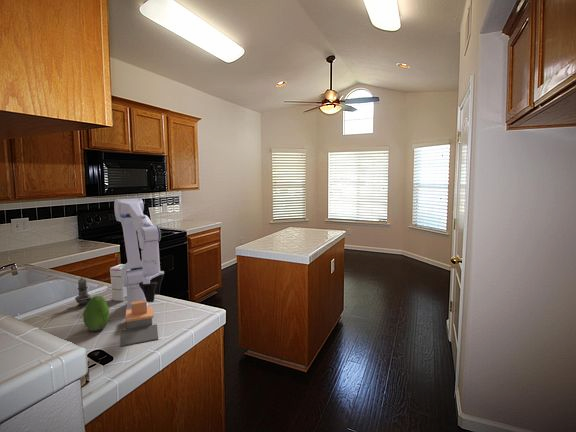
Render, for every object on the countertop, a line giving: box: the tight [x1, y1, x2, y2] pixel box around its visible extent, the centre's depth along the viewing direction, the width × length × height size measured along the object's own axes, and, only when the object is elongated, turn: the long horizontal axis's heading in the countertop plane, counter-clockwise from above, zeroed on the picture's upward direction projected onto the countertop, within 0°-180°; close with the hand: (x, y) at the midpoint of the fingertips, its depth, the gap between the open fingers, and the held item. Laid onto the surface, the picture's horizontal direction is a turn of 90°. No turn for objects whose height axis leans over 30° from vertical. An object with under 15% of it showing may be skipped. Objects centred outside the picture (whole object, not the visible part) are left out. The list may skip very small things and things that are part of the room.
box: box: [126, 318, 153, 329], centre depth 117 cm, size 8×8×3 cm
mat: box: [120, 323, 159, 347], centre depth 108 cm, size 11×11×1 cm
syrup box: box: [109, 263, 132, 302], centre depth 139 cm, size 6×6×14 cm
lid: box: [124, 300, 154, 323], centre depth 117 cm, size 9×9×6 cm
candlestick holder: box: [74, 276, 92, 309], centre depth 131 cm, size 6×6×12 cm
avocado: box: [82, 295, 110, 332], centre depth 111 cm, size 8×8×12 cm
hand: (153, 298), depth 114 cm, fingers open, 7 cm apart
